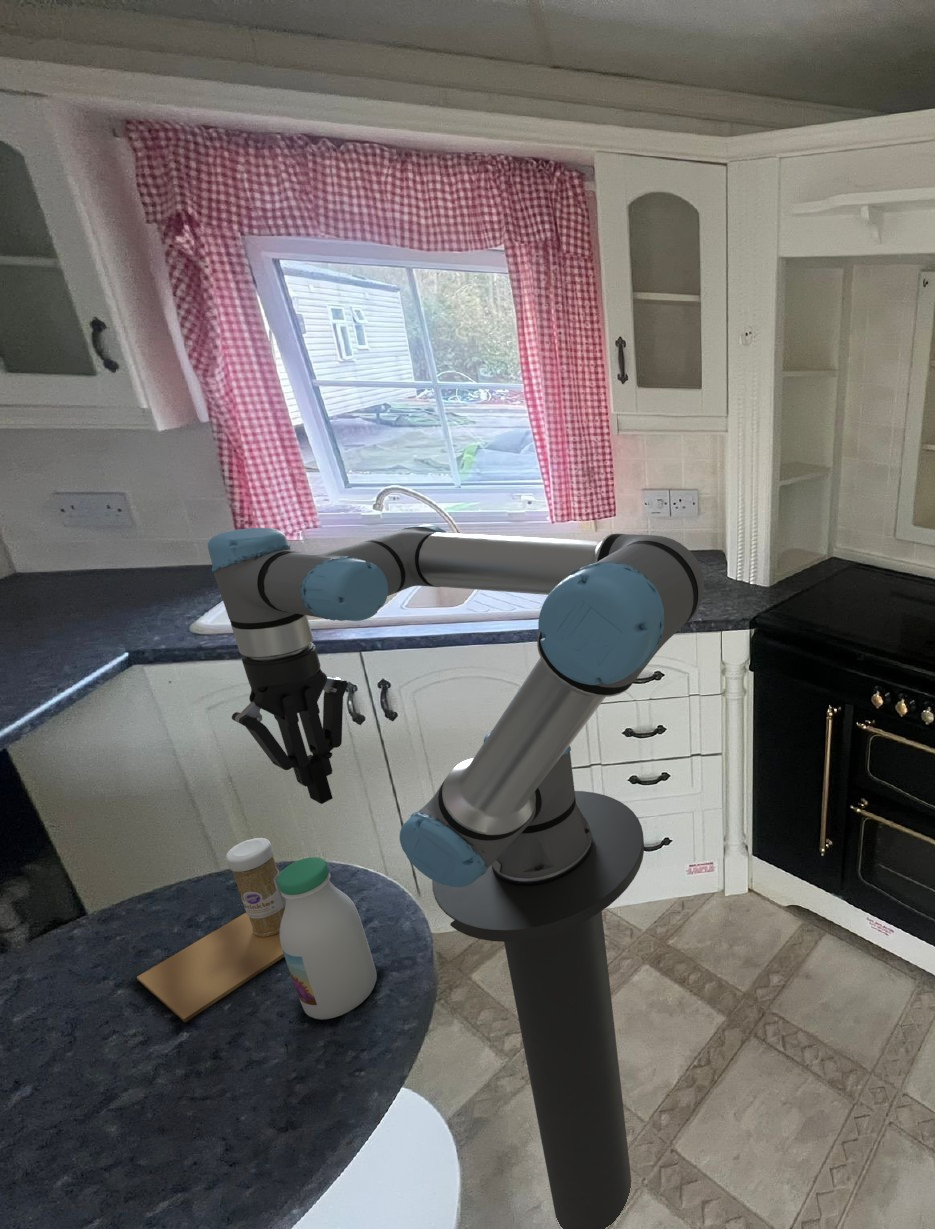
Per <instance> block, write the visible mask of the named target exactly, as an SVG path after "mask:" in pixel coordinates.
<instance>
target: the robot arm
mask: <svg viewBox="0 0 935 1229" xmlns="http://www.w3.org/2000/svg"><path fill="white" fill-rule="evenodd" d="M207 549H208V553H209V558H210V562H211V566H212V568H211V572H212V573H213V575H214V578H215V581H216V585H217V587H218V590H219V593H220V596H221V599H222V602H223V605H224V608H225V612H226V615H227V618H228V620H229V622H230V627H231V630H232V633H233V636H234V639H235V642H236V646H237V648H238V652H239V654H241V655H242V658H241V662H242V665H243V668H244V671H245V675H246V678H247V681H248V684H249V686H250V694H249V697H248V698H249V702H250V703H249V704H248V705H246V707H245V708H244V709H243V710H242V711H236V712H234V713H233V714H232V715H231V719H232V721H234V722H237V723H238V724H240V725H241V726H244V727H245V728H246V730H247V731H248V732H249V733H250V735H251V736H252V738H253V739H254V740H255V741H256V743H257V744H258V745H259V747H260V748H261V749H262V751H263V752H264V753H265V755H266V756H267V757H268V759H269V760H270V761H271V763H272V764H273V765H275V766H276V767H279V769H282V770H284V771H289V770H291V769H293V772H294V775H295V778H296V781H297V782H298V784H300V785H301V786H303V787H306V788H307V791H308V795H309V798H310V799H311V800H313V801H314V802H317V803H318V804H320V805H323V804H325V803H327V802H329V801H331V800H332V799H333V800H334V798H333V794H332V790H331V787H330V784H329V780H328V776H331V775H332V774H333V767H332V763H331V758H332V756H333V752H331V751H332V750H334V749H336V748H337V749H338V748H339V747H341V745H342V743H343V716H344V715H343V714H344V696H345V693H346V691H347V688H348V686H349V681H347V680H345V679H343V678H341V677H338V676H334V675H333V676H330V677H329V676H328V675H327V673H325V672H324V671H323V670H322V669H321V663H320V658H319V655H318V651H317V648H316V645H315V644H314V643H313V641H314V635H313V631H312V628H311V626H310V625H311V624H310V622H309V618H308V617H314V618H319V619H323V620H327V621H328V620H330V621H339V622H342V621H349V622H361V621H364V620H365V621H366V620H368V619H371V618H372V617H374V616H376V615H377V614H378V611H379V610H380V609H381V608H382V607H383V606H384V605H385V604H386V601H387V600H388V597H389V596H391V595H394V594H397V593H399V592H402V591H404V590H406V589H409V588H413V587H431V588H449V589H450V588H451V589H461V590H462V589H463V590H477V591H491V592H505V593H517V594H529V595H531V594H532V595H542V596H543V595H544V596H547V597H546V598H545V599H544V601H543V604H542V606H541V608H540V613H539V616H538V621H537V622H538V624H537V625H538V627H537V630H538V633H539V634H538V636H537V641H536V644H537V645H536V646H537V651H538V655H539V658H538V660H537V662H536V663H535V665H534V666H533V668H532V669H531V671H530V672H529V674H528V675H527V677H526V678H525V680H524V682H523V683H522V684H521V686H520V688H519V689H518V691H517V692H516V694H514V697H513V698H512V700H511V701H510V702H509V704H508V705H507V707H506V709H505V710H504V712H503V713H502V714H501V716H500V718H499V719H498V720H497V722H496V723H495V725H494V727H493V728H492V729H491V730H490V731H488V732H487V734H486V735H485V736H484V738H483V743H482V745H481V747H480V748H479V750H478V751H477V753H476V754H475V755H474V757H472V758H468V759H466V760H463V761H461V762H459V763H457V765H456V766H454V767H453V769H451V770H450V771H449V773H448V774H447V775H446V777H445V778H444V780H443V781H442V783H441V784H440V786H439V787H438V789H437V791H436V792H435V794H434V795H433V796H432V797H431V799H429V801H428V802H427V803H426V804H424V806H423V807H421V808H420V809H419V810H418V811H415V812H413V813H412V814H411V815H410V817H409V818H408V819H407V820H406V821H405V822H404V823H403V824H402V826H401V827H400V830H399V843H400V847H401V849H402V851H403V853H404V854H405V856H406V858H407V859H408V861H409V862H410V863H411V864H412V865H413V866H414V867H415V869H417V870H418V871H419V873H421V874H423V875H424V876H425V877H427V878H428V879H430V880H431V881H432V880H433V881H435V882H437V883H440V884H442V885H445V886H450V887H465V886H468V885H470V884H472V883H473V882H475V881H476V880H477V879H478V878H479V877H480V876H481V875H484V874H485V873H486V871H487V869H488V868H489V867H490V866H492V869H493V872H494V873H495V875H496V876H497V877H498V878H499V879H501V880H502V881H504V882H506V883H509V884H512V885H518V886H535V885H541V884H545V883H549V882H552V881H555V880H557V879H560V878H562V877H564V876H566V875H568V874H569V873H571V872H572V871H574V870H575V869H576V868H578V867H579V866H580V865H581V864H582V863H583V862H584V861H585V859H586V858H587V857H588V855H589V853H590V851H591V848H592V834H591V829H590V827H589V824H588V823H587V821H586V819H585V817H584V816H583V814H582V812H581V811H580V809H579V807H578V806H577V804H576V799H575V791H576V790H575V783H574V772H573V765H572V757H571V756H572V754H571V750H572V747H571V746H570V745H571V744H572V743H573V741H574V740H575V739H576V738H577V736H578V735H579V734H580V732H581V731H582V729H583V728H584V727H585V726H586V724H587V723H588V721H589V720H590V718H591V717H592V716H593V715H594V713H595V712H596V711H597V709H598V708H599V707H600V706H601V704H602V703H603V702H604V700H605V698H611V697H616V696H619V695H621V694H623V693H626V691H628V690H629V688H631V686H633V684H634V683H635V681H636V680H637V679H638V678H639V676H640V675H641V674H642V672H643V671H644V669H645V668H646V667H647V666H648V664H650V662H651V661H652V659H653V658H654V657H655V655H656V654H657V653H658V652H659V650H660V649H661V648H662V647H663V646H664V645H665V644H666V643H667V642H668V641H669V640H670V639H671V638H672V637H673V636H674V635H675V634H676V633H677V632H679V630H680V629H682V628H683V626H685V625H686V624H687V623H688V622H689V621H690V620H692V618H693V617H694V616H695V615H696V613H697V612H698V609H699V608H700V606H701V605H702V601H703V597H704V595H705V594H704V593H705V579H704V578H705V577H704V574H703V571H702V567H701V565H700V563H699V561H698V560H697V557H695V555H694V554H693V553H692V552H691V551H690V549H688V548H687V547H686V546H685V545H683V544H682V543H681V542H679V541H677V540H676V539H673V538H669V537H667V536H662V535H655V534H634V533H633V534H632V533H631V534H630V533H610V534H608V535H607V536H606V537H604V538H603V539H602V540H593V539H592V540H591V539H571V538H570V539H569V538H550V537H549V538H548V537H528V536H512V535H511V536H510V535H492V534H491V535H490V534H489V535H488V534H468V533H450V532H447V531H446V530H444V529H442V528H441V527H439V526H438V525H434V524H429V523H428V524H427V523H426V524H420V525H415V526H407V527H404V528H402V529H399V530H397V531H394V532H390V533H387V534H385V535H381V536H377V537H375V538H372V539H368V540H366V541H361V542H358V543H354V544H351V545H349V546H344V547H341V548H338V549H334V550H331V551H328V552H325V553H306V552H299V551H295V550H291V544H290V543H289V541H288V539H287V536H286V534H285V533H284V532H282V531H281V530H280V529H277V528H271V527H248V528H240V529H233V530H229V531H224V532H221V533H218V534H216V535H214V536H213V537H211V538H210V539H209V541H208V543H207ZM323 691H324V692H323ZM322 693H323V699H322V700H323V704H322V707H323V708H322V721H321V717H320V713H321V711H320V707H319V704H318V701H319V699H320V697H321V696H322ZM261 710H263V711H265V712H266V713H269V714H271V715H272V716H273V717H274V719H275V720H276V721H277V725H278V728H279V732H280V735H281V739H282V741H283V742H282V743H283V744H284V748H285V750H284V749H283V747H282V746H281V744H280V743H279V742H278V741H277V739H276V738H275V736H274V735H273V734H272V732H271V731H270V730H269V729H268V727H267V726H266V725H265V723H263V722H262V721H263V715H262V714H261ZM299 722H301V725H302V729H303V732H304V736H305V739H306V742H307V747H308V749H309V752H310V753H311V754H308V753H307V749H306V746H305V743H304V739H303V736H302V732H301V728H300V726H299V725H300V724H299Z"/></svg>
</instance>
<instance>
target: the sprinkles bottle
mask: <svg viewBox="0 0 935 1229" xmlns="http://www.w3.org/2000/svg"><path fill="white" fill-rule="evenodd" d="M225 860H226V863H227V866H228V869H229V870H230V871H231V872H232V874H233V878H234V880H235V883H236V886H237V888H238V892H239V894H240V896H241V897H240V898H241V901H242V905H243V908H244V910H245V913H247V915H248V916H249V919H250V922H251V924H252V927H253V933H254V934H255V935H256V936H260V937H266V936H271V935H274V934H277V933H278V932H280V924H281V920H282V917H283V914H284V910H285V906H286V898H284V897H283V896H282V894H281V891H280V888H279V886H278V882H277V880H278V876H279V874H280V870H279V869H278V866H277V864H276V860H275V857H274V849H273V846H272V844H271V841H270V840H269V839H267V838H264V837H254V838H250V839H247V840H244V841H241V842H239V843H238V844H235V845H234V846H233V847H231V849H229V850H228V851H227V853H226V855H225Z"/></svg>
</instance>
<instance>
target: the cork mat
mask: <svg viewBox="0 0 935 1229" xmlns="http://www.w3.org/2000/svg"><path fill="white" fill-rule="evenodd" d="M283 958H285V957H284V954H283V950H282V947H281V943H280V932H278V933H277V934H274V935H271V936H266V937H260V936H256V935H255V934H254V933H253V927H252V924H251V922H250V919H249V916H248V915H247V913H246V912H245V913H242V914H241V915H240V916H238V917H236V918H234V919H233V920H231V921H229V922H227V923H225V924H224V925H222V926H220V927H219V928H217V929H216V930H214V931H212V932H211V933H209V934H207V935H205V936H204V937H202V938H200V939H198V940H197V941H195V942H193V943H191V944H190V945H189V946H187V947H185V948H184V949H182V950H179V951H177V953H175V954H173V955H172V956H170V957H168V958H166V959H165V960H163V961H161V962H159V963H157V964H156V965H154V966H152V967H150V968H149V969H148V970H146V971H144V972H142V973H140V974H139V975H137V976H136V979H137V981H138V982H139V983H140V984H142V985H143V986H144V987H145V988H146V989H147V990H148V991H149V992H150V993H151V994H153V996H154V997H156V998H157V999H158V1000H159V1001H160V1002H161V1003H163V1005H165V1007H166V1008H168V1009H169V1010H170V1011H171V1012H172V1013H174V1014H175V1015H176V1016H177V1017H178V1018H179V1019H180V1020H181V1021H182V1022H183V1023H187V1022H188V1021H190V1020H192V1019H193V1018H195V1017H196V1016H198V1015H199V1014H201V1013H202V1012H204V1011H205V1010H207V1009H208V1008H209V1007H211V1006H212V1005H214V1004H215V1003H217V1002H218V1001H220V1000H221V999H223V998H224V997H226V996H227V995H229V994H230V993H232V992H234V991H235V990H237V989H238V988H240V987H241V986H242V985H244V984H246V983H247V982H248V981H250V980H252V979H253V978H254V977H257V976H258V975H259V974H261V973H262V972H264V971H265V970H266V969H268V968H270V967H271V966H273V965H274V964H275V963H277V962H279V961H280V960H281V959H283Z"/></svg>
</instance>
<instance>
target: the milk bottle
mask: <svg viewBox="0 0 935 1229" xmlns="http://www.w3.org/2000/svg"><path fill="white" fill-rule="evenodd" d="M330 880H331V873H330V870H329V866H328V863H327V861H326V860H325V859H324V858H322V857H318V856H311V857H305V858H301V859H299V860H296V861H294V862H292V863H291V864H288V865H287V866H286V867H285V868H284V869H282V870H281V871H280V872H279V876H278V880H277V882H278V886H279V888H280V891H281V894H282V896H283V897H284V898H286V906H285V910H284V914H283V917H282V920H281V924H280V943H281V947H282V950H283V954H284V957H283V958H284V959H285V960H284V961H285V963H286V965H287V969H288V971H289V975H290V978H291V979H292V982H293V985H294V988H295V991H296V993H297V996H298V999H299V1002H300V1004H301V1006H302V1009H303V1011H304V1013H305V1014H306V1015H307V1016H308V1017H310V1018H313V1019H315V1020H329V1019H334V1018H338V1017H340V1016H343V1015H345V1014H347V1013H349V1012H351V1011H352V1010H355V1008H357V1007H358V1006H360V1005H361V1004H362V1003H364V1001H365V1000H367V998H368V997H369V996H370V995H371V993H372V991H373V990H374V988H375V985H376V982H377V979H378V972H377V969H376V966H375V962H374V958H373V956H372V955H373V954H372V952H371V948H370V945H369V942H368V938H367V935H366V931H365V928H364V926H363V922H362V919H361V917H360V914H359V911H358V908H357V907H356V905H355V903H354V902H353V900H352V899H351V897H350V896H348V895H347V894H346V893H345V892H343V891H342V890H340V889H339V888H337V887H336V886H335V885H334V884H333V883H332V882H331V881H330Z"/></svg>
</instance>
